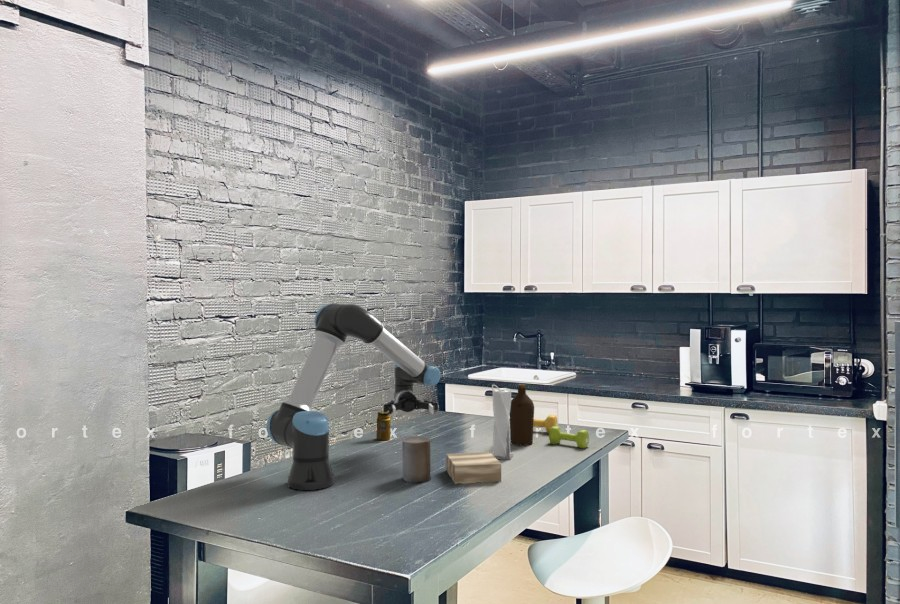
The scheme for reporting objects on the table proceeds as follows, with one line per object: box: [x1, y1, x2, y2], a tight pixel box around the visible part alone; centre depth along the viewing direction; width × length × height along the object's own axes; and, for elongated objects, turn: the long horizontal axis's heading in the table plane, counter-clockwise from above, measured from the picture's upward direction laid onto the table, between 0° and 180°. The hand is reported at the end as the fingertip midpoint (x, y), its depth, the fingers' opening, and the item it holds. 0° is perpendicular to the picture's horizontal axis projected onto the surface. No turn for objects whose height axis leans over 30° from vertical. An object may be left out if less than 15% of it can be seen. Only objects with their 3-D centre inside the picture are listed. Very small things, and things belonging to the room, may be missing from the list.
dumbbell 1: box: [533, 414, 559, 434], centre depth 293 cm, size 19×9×8 cm, turn 66°
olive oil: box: [509, 383, 535, 446], centre depth 270 cm, size 11×11×25 cm
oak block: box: [445, 451, 502, 485], centre depth 222 cm, size 16×16×6 cm
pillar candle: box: [402, 435, 432, 484], centre depth 218 cm, size 10×10×15 cm
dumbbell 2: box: [548, 425, 590, 449], centre depth 267 cm, size 16×8×7 cm, turn 55°
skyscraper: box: [491, 383, 514, 460], centre depth 248 cm, size 8×8×28 cm
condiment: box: [369, 410, 395, 444], centre depth 275 cm, size 7×8×12 cm
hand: (413, 411), depth 227 cm, fingers open, 13 cm apart
